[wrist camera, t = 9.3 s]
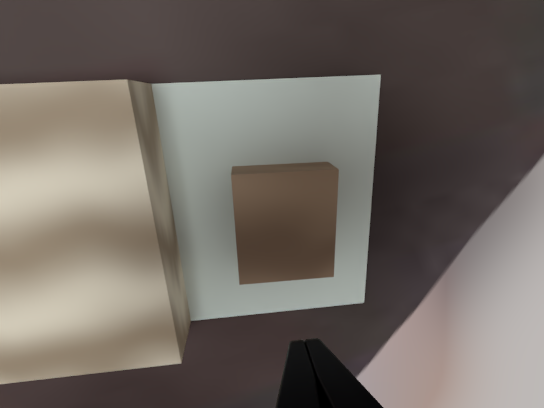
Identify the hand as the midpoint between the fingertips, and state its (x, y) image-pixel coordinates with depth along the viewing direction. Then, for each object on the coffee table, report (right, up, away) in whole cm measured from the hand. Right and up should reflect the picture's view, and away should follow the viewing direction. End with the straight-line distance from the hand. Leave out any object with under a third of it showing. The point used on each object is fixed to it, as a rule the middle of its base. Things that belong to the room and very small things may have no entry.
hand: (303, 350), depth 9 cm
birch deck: (-15, +3, +10) cm, 18 cm away
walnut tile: (0, +3, +9) cm, 9 cm away
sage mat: (-1, +4, +11) cm, 12 cm away
